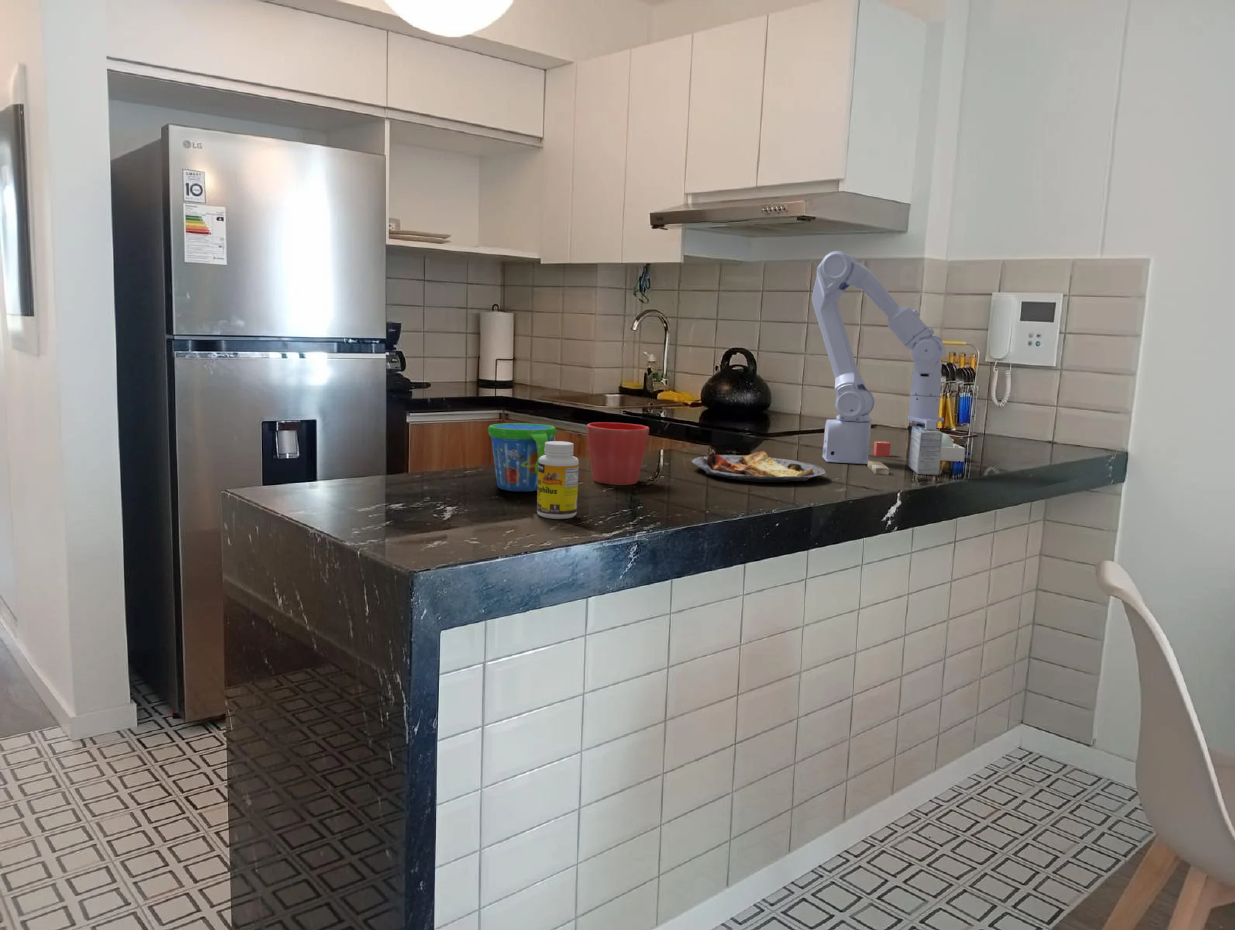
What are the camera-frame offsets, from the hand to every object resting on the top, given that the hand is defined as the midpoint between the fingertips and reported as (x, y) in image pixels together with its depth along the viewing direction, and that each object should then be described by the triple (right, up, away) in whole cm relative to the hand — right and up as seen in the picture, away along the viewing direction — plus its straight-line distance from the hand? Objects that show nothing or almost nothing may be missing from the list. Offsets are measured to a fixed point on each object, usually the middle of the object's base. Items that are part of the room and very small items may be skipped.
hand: (919, 461), depth 191 cm
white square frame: (+11, +1, +19) cm, 22 cm away
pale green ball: (+11, +1, +19) cm, 22 cm away
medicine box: (-1, -2, -5) cm, 5 cm away
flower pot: (-63, -4, -32) cm, 70 cm away
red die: (-2, +1, +19) cm, 20 cm away
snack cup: (-78, -5, -43) cm, 89 cm away
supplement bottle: (-71, -8, -63) cm, 95 cm away
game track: (-10, -2, -5) cm, 11 cm away
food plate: (-36, -3, -17) cm, 40 cm away
